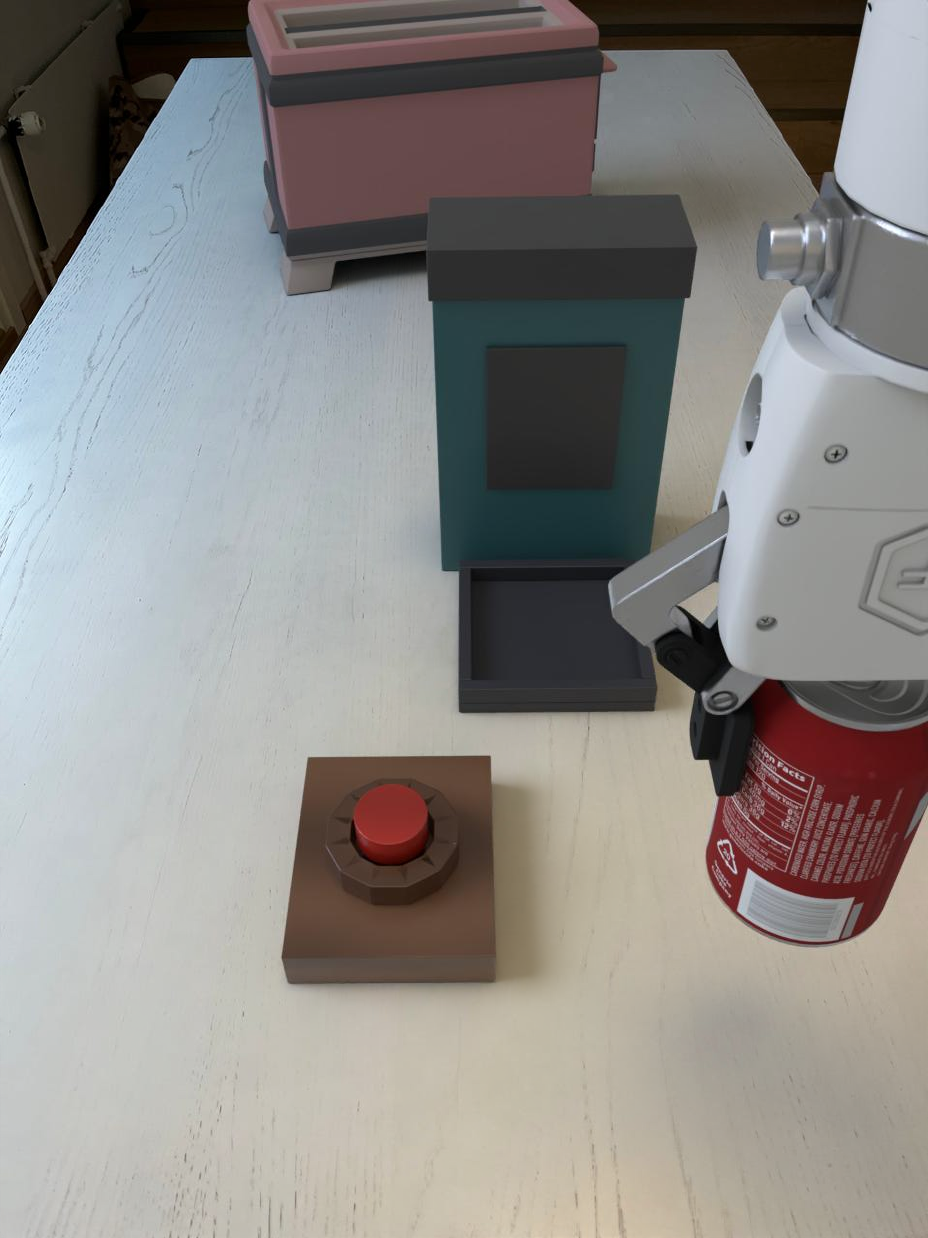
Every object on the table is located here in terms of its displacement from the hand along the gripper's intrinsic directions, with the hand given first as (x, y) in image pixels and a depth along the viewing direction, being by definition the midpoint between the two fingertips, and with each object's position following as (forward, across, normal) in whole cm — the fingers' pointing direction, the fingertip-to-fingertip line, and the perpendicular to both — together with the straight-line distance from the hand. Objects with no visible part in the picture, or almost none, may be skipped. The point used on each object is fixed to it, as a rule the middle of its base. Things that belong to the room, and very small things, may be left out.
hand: (829, 759), depth 37 cm
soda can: (+7, 0, 0) cm, 7 cm away
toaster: (+18, -15, +86) cm, 89 cm away
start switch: (+19, -16, +8) cm, 27 cm away
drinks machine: (+19, -7, +36) cm, 41 cm away
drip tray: (+19, -7, +26) cm, 33 cm away
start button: (+16, -16, +8) cm, 24 cm away
